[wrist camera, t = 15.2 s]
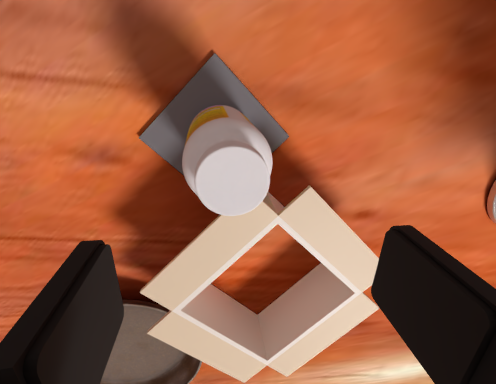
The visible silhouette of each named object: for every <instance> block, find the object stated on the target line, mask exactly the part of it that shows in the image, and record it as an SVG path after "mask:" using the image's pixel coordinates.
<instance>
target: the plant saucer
mask: <svg viewBox="0 0 496 384" xmlns="http://www.w3.org/2000/svg"><path fill="white" fill-rule="evenodd" d="M122 301H123V306H124V317H123V321H122V324H121V327H120V329H119V332H118V335H117V338H116V341H115V343H114V346H113V349H112V352H111V354H110V357H109V360H108V363H107V365H106V368H105V371H104V374H103V376H102V379H101V382H100V384H189V383H190V382H191V381H192V380H193V378H194V377H195V376H196V374H197V373H198V371H199V369H200V366H201V363H202V361H200V360H198V359H196V358H194V357H192V356H190V355H188V354H186V353H184V352H182V351H180V350H178V349H176V348H175V347H173V346H171V345H169V344H167V343H165V342H163V341H161V340H159V339H157V338H155V337H153V336H151V335H149V334H147V331H148V330H149V329H150V328H151V327H152V326H153V325H154V324H155V323H156V322H158V321H159V320H160V319H161V318H162V317H163V316H164V315H165V314H166V313H168V312H169V311H170V310H169V309H167V308H165V307H163V306H161V305H158V304H155V303H151V302H146V301H140V300H122Z"/></svg>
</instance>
